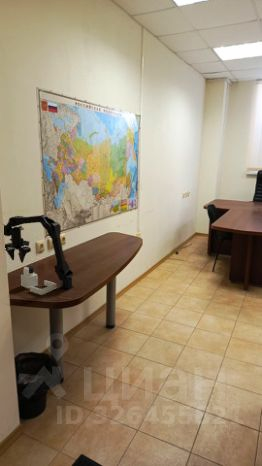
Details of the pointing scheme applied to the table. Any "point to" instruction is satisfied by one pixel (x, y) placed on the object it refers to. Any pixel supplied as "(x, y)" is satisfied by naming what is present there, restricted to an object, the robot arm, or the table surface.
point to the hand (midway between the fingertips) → (17, 261)
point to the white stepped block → (29, 277)
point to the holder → (42, 291)
